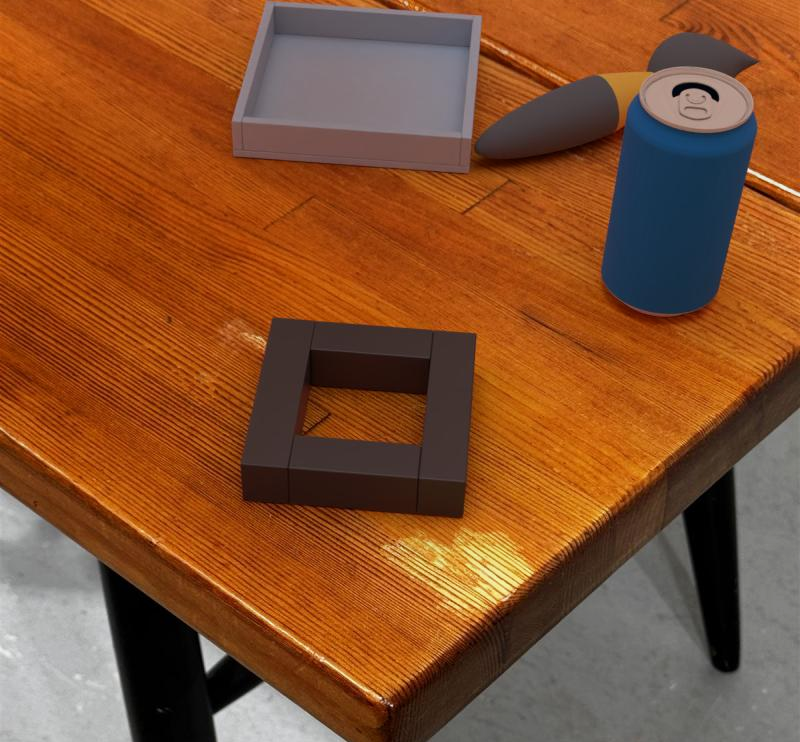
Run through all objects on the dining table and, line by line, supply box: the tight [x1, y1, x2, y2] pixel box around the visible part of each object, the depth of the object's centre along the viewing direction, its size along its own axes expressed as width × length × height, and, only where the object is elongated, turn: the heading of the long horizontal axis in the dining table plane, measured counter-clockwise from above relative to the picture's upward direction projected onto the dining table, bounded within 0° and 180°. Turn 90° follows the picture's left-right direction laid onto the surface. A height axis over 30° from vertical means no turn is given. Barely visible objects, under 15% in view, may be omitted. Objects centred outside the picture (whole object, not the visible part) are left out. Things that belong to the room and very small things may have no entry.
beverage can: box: [600, 67, 758, 318], centre depth 76 cm, size 6×6×12 cm
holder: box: [239, 316, 478, 519], centre depth 71 cm, size 10×10×2 cm
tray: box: [231, 0, 483, 175], centre depth 91 cm, size 14×14×2 cm
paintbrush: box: [473, 31, 761, 160], centre depth 89 cm, size 20×5×5 cm, turn 122°
